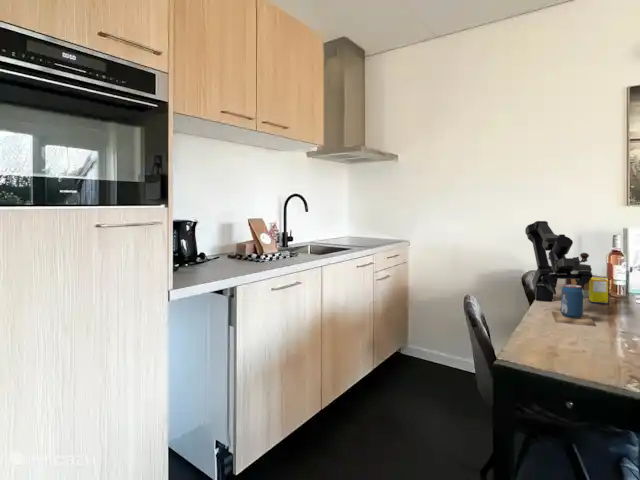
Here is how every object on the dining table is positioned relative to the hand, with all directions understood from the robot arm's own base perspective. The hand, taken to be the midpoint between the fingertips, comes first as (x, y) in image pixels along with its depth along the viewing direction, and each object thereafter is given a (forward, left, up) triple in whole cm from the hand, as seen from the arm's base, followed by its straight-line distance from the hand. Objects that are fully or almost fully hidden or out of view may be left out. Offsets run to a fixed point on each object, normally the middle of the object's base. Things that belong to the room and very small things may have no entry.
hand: (568, 294), depth 145 cm
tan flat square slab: (+1, -4, -9) cm, 10 cm away
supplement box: (+15, +30, -9) cm, 35 cm away
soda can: (+1, -4, -8) cm, 9 cm away
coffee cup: (+10, +41, -9) cm, 43 cm away
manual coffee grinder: (+12, +64, -9) cm, 66 cm away
